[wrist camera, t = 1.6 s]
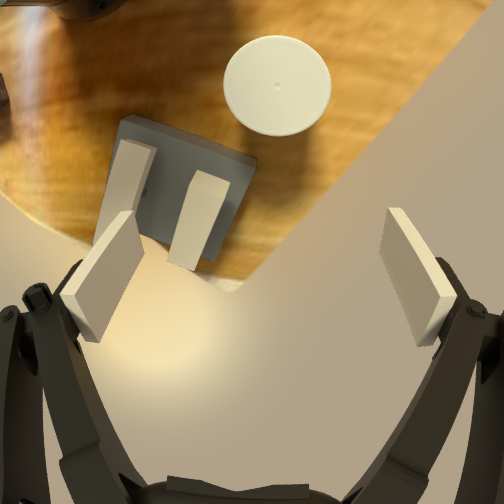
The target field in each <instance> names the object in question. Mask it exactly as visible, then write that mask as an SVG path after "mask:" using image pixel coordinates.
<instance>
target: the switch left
mask: <svg viewBox="0 0 504 504" xmlns="http://www.w3.org/2000/svg"><path fill="white" fill-rule="evenodd" d="M156 150H157V148H155V147H152V146H149V145H147V144H144V143H141V142H138V141H135V140H132V139H121V141H120V144H119V147H118V150H117V153H116V156H115V159H114V162H113V166H112V169H111V172H110V176H109V179H108V183H107V186H106V190H105V194H104V197H103V201H102V205H101V209H100V213H99V217H98V222H97V226H96V231H95V235H94V240H93V245H95V244H96V242H97V241H98V240H99V238H100V237H101V236H102V234H103V233H104V232H105V231H106V229H107V228H108V227H109V225H110V224H111V223H112V222H113V220H114V219H115V218H116V217H117V215H118V214H119V213H120V212H121V211H134V215H135V214H136V211H137V207H138V204H139V201H140V198H141V194H142V191H143V188H144V185H145V182H146V179H147V176H148V173H149V170H150V167H151V164H152V161H153V159H154V156H155V153H156Z"/></svg>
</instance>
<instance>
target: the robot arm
mask: <svg viewBox="0 0 504 504" xmlns="http://www.w3.org/2000/svg"><path fill="white" fill-rule="evenodd" d="M126 1H127V0H0V7H3V6H47V7H48V8H50V9H51V10H52V11H54V12H55V13H57V14H58V15H59V16H61V17H63V18H65V19H69V20H74V21H91V20H95V19H99V18H101V17H104V16H106V15H108V14H110V13H111V12H113V11H115V10H116V9H117V8H119V7H120V6H121V5H122V4H123V3H125V2H126ZM379 253H380V256H381V258H382V260H383V262H384V264H385V267H386V269H387V271H388V274H389V276H390V278H391V281H392V283H393V285H394V287H395V290H396V293H397V295H398V298H399V300H400V302H401V305H402V308H403V310H404V313H405V315H406V318H407V320H408V323H409V326H410V328H411V331H412V334H413V337H414V339H415V342H416V345H417V347H421V346H430V345H433V344H434V342H435V340H436V338H437V336H439V339H440V341H441V344H440V346H439V347H438V349H437V351H436V353H435V354H434V356H433V358H432V362H431V365H430V367H429V369H428V371H427V373H426V375H425V377H424V379H423V381H422V383H421V384H420V386H419V388H418V390H417V392H416V394H415V396H414V398H413V399H412V401H411V403H410V405H409V406H408V408H407V410H406V412H405V413H404V415H403V417H402V418H401V420H400V422H399V423H398V425H397V427H396V428H395V430H394V431H393V433H392V435H391V436H390V438H389V439H388V441H387V442H386V444H385V445H384V447H383V448H382V450H381V451H380V453H379V454H378V456H377V457H376V459H375V460H374V461H373V463H372V464H371V466H370V467H369V468H368V470H367V471H366V472H365V474H364V475H363V477H362V478H361V479H360V480H359V481H358V482H357V484H356V485H355V486H354V487H353V488H352V489H351V490H350V492H349V493H348V494H347V495H346V496H345V497H344V499H343V500H342V501H341V502H340V501H338V500H337V499H335V498H333V497H331V496H329V495H327V494H325V493H322V492H318V491H315V490H310V489H309V484H297V485H296V484H293V485H270V486H265V487H260V488H255V489H250V490H245V491H231V490H228V489H225V488H221V487H219V486H216V485H213V484H210V483H207V482H204V481H201V480H195V479H187V478H180V477H174V476H167V481H166V482H159V483H154V484H151V485H147V484H146V482H145V481H144V479H143V478H142V477H141V475H140V474H139V473H138V472H137V471H136V469H135V468H134V466H133V464H132V463H131V461H130V459H129V457H128V455H127V453H126V452H125V449H124V448H123V446H122V444H121V442H120V440H119V438H118V436H117V434H116V432H115V430H114V428H113V425H112V423H111V421H110V419H109V417H108V415H107V412H106V410H105V408H104V406H103V403H102V401H101V399H100V396H99V394H98V391H97V389H96V387H95V384H94V382H93V379H92V377H91V374H90V371H89V369H88V366H87V363H86V360H85V358H84V355H83V352H82V349H81V346H80V343H79V342H78V340H77V337H78V335H79V333H81V335H82V336H83V338H84V340H85V341H87V342H95V343H100V341H101V338H102V336H103V334H104V332H105V330H106V328H107V326H108V324H109V321H110V319H111V317H112V315H113V313H114V311H115V309H116V307H117V305H118V303H119V301H120V299H121V297H122V295H123V293H124V291H125V289H126V287H127V285H128V283H129V281H130V279H131V277H132V275H133V274H134V272H135V270H136V268H137V266H138V264H139V262H140V260H141V259H142V257H143V255H144V250H143V246H142V243H141V239H140V235H139V231H138V227H137V223H136V219H135V215H134V211H121V212H120V213H119V214H118V215H117V217H116V218H115V219H114V220H113V222H112V223H111V224H110V225H109V227H108V228H107V229H106V231H105V232H104V233H103V234H102V236H101V237H100V238H99V240H98V241H97V242H96V244H95V245H94V246H93V247H92V249H91V250H90V252H89V253H88V254H87V256H86V257H85V258H84V259H81V260H80V261H78V262H77V263H76V264H75V265H73V266H72V268H71V269H70V271H69V272H68V274H67V275H66V276H65V278H64V280H62V282H61V283H60V285H59V286H58V288H57V289H56V290H55V292H54V293H53V295H52V294H51V292H50V290H49V288H48V286H47V284H45V283H37V284H34V285H32V286H31V287H29V288H28V289H27V290H26V291H25V293H24V294H23V297H22V300H23V302H24V303H25V305H26V307H27V309H28V310H29V312H26V313H20V311H19V309H18V308H17V306H15V305H11V306H8V307H5V308H4V309H3V310H2V311H1V312H0V504H51V501H50V493H49V486H48V478H47V470H46V461H45V449H44V434H43V405H42V404H43V389H44V393H45V397H46V401H47V405H48V409H49V412H50V415H51V419H52V423H53V426H54V429H55V433H56V436H57V439H58V442H59V445H60V448H61V451H62V454H63V458H62V459H60V460H59V466H60V470H61V472H62V475H63V478H64V480H65V482H66V485H67V488H68V490H69V492H70V495H71V497H72V499H73V502H74V504H417V503H418V501H419V499H420V498H421V496H422V495H423V493H424V491H425V489H426V487H427V485H428V482H429V479H428V474H429V472H430V470H431V468H432V466H433V464H434V462H435V460H436V459H437V457H438V455H439V453H440V451H441V449H442V447H443V445H444V443H445V441H446V438H447V436H448V434H449V432H450V430H451V428H452V425H453V423H454V421H455V418H456V416H457V413H458V411H459V409H460V406H461V404H462V401H463V399H464V396H465V393H466V391H467V388H468V385H469V382H470V379H471V377H472V374H473V370H474V367H475V364H476V361H477V364H476V365H477V366H476V383H475V396H474V405H473V414H472V422H471V430H470V436H469V441H468V447H467V452H466V458H465V463H464V467H463V472H462V476H461V480H460V484H459V488H458V491H457V495H456V499H455V502H454V504H504V311H503V313H502V314H501V316H500V315H495V314H490V313H488V312H487V309H486V308H485V307H484V306H483V304H481V303H480V302H478V301H476V300H473V299H470V298H469V296H468V295H467V293H466V291H465V289H464V288H463V286H462V284H461V283H460V281H459V280H458V278H457V276H456V275H455V273H454V271H453V270H452V268H451V267H450V265H449V264H448V263H447V262H446V261H445V260H443V259H442V258H441V257H434V256H433V254H432V253H431V251H430V250H429V248H428V247H427V245H426V244H425V242H424V240H423V239H422V237H421V236H420V235H419V233H418V232H417V230H416V229H415V227H414V226H413V224H412V223H411V221H410V220H409V219H408V217H407V216H406V214H405V213H404V212H403V210H402V209H401V208H388V209H387V214H386V220H385V225H384V231H383V235H382V240H381V245H380V250H379Z"/></svg>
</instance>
